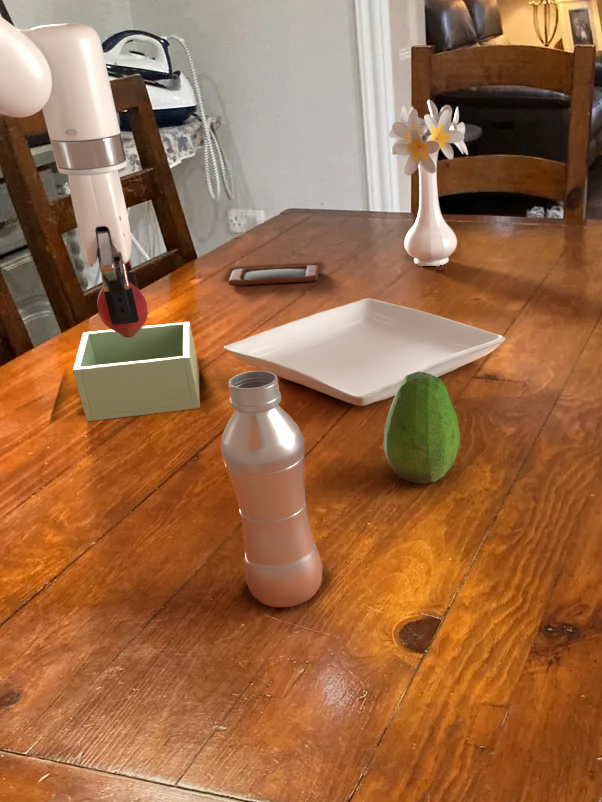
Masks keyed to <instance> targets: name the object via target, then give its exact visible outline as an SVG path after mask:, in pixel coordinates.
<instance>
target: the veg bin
mask: <svg viewBox="0 0 602 802" xmlns="http://www.w3.org/2000/svg"><path fill="white" fill-rule="evenodd" d="M72 373H73V377H74V380H75V384H76V387H77V391H78V395H79V398H80V402H81V406H82V409H83V412H84V413H83V414H84V417H85V420H86V422H96V421H103V420H112V419H120V418H128V417H129V418H130V417H137V416H138V417H139V416H145V415H146V416H147V415H155V414H165V413H171V412H180V411H188V410H197V409H200V407H201V403H200V401H201V399H200V397H201V396H200V394H201V393H200V367H199V362H198V357H197V351H196V348H195V342H194V337H193V332H192V326H191V322H190V321H183V322H181V321H180V322H173V323H164V324H154V325H143V327H142V328H141V329H140V330H139V331H138V332H137V333H136V334H135V336H133V337H132V338H125V337H123V336H122V335H121V334H119V333H118V332H116V331H114V330H112V329H106V330H95V331H85V332H82V335H81V339H80V341H79V345H78V351H77V354H76V357H75V361H74V364H73V368H72Z"/></svg>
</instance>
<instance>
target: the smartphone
mask: <svg viewBox="0 0 602 802" xmlns="http://www.w3.org/2000/svg"><path fill="white" fill-rule="evenodd" d="M319 271H320V266H319V265H317V264H315V265H313V264H312V265H310V264H309V265H293V266H292V265H291V266H290V265H289V266H273V267H272V266H271V267H252V268H251V267H250V268H237V269H233V270H232V272H231V275H230V277H229V279H228V285H229V286H249V285H269V284H289V283H290V284H291V283H307V282H317V281H318V278H319Z"/></svg>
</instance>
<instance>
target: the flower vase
mask: <svg viewBox="0 0 602 802" xmlns="http://www.w3.org/2000/svg"><path fill="white" fill-rule="evenodd" d="M427 106H428V111H429V114H425V115H424V116H423V118H422V117H419V115H418V111H417V109H416V108H414V106H413V105H412V106H411V107H410V108H409V111H407V108H406V106H405V105H402V106H401V108H400V111H399V121H395V122H393V123H392V125H391V130H390V131H389V134H388V136H389V138H391V139H395V138H396V139H395V140H394V142H393V144H392V147H391V154H392V155H399V156H403V157H407V158H406V160H405V163H404V167H403V172H404V174H405V175H406V176H412V175H413V174H414V173H415V172H416V171H417V169H418V176H419V178H418V179H419V180H418V181H419V202H418V203H419V206H418V211H417V217H416V219H415V222H414V223H413V224H412V226H411V227H410V229H408V231H407V233H406V235H405V237H404V242H403V246H404V249H405V251H406V253H407V254H408V255H409V256H411V257H412V258H413V262H414V265H416V264H417V265H416V266H418V267H423V266H436V267H441V266H440V265H442V266H444V264H445V265H447V264H448V263H449V261H450V258H449V257H450V256H451V255H453V253H454V252H456V248H457V246H458V239H457V236H456V234H455V232H454V230H453V229H452V227H450V225H448V223H447V222H446V221H445V219H444V217H443V215H442V212H441V207H440V202H439V191H438V176H437V169H438V158H439V152H440V150H441V152H442V153H443V155H444V156H445V157H446V158H447V159H448V160H453V159H454V155H455V154H454V150H453V147H452V146H451V145H452V144H454V145H455V146H456V147H457V148H458V149H459V151H460V152H461V154H462V155H464V154H465V155H467V156H468V155H469V151H468V148H467V145H466V143H465V141H464V140H465V133H466V124H465V123H464V122H463V121H461V122H459V120H460V111H459V106H456V108H455V112H454V117H453V120H452V116H453V115H452V114H453V109H452V107H451V105H449V104H445V105H444V106H442V107H441V109H440V111H438V110H439V109H438V108H437V105H436V104H435V103H434V102H433V100H431V99H428V100H427ZM446 263H447V264H446Z"/></svg>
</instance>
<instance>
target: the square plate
mask: <svg viewBox="0 0 602 802" xmlns="http://www.w3.org/2000/svg"><path fill="white" fill-rule="evenodd" d="M505 341H506V337H505V336H503V335H501V334H497V333H494V332H491V331H488V330H485V329H481V328H478V327H475V326H472V325H469V324H465V323H462V322H459V321H457V320H456V321H455V320H453V319H450V318H446V317H444V316H440V315H437V314H432V313H429V312H427V311H426V312H425V311H422V310H419V309H415V308H411V307H408V306H403V305H399V304H395V303H391V302H387V301H382V300H378V299H374V298H369V297H368V298H363V299H359V300H357V301H353V302H350V303H347V304H343V305H340V306H336V307H333V308H329V309H326V310H323V311H320V312H317V313H314V314H310V315H307V316H304V317H302V318H299V319H296V320H293V321H290V322H287V323H284V324H282V325H279V326H276V327H273V328H270V329H268V330H265V331H263V332H262V331H261V332H260V333H257V334H254V335H252V336H249V337H246V338H243V339H240V340H238V341H235V342H232V343H229V344H227V345H224V346H223V350H224V351H226V352H227V353H229V354H230V355H232V356H233V357H234V358H235V359H237V360H238V361H240V362H243V363H244V364H246V365H249V366H250V367H253V368H256V369H259V370H261V371H268V372H272V373H274V374H275V375H276V376H277V377H279V378H281V379H284V380H288V381H290V382H292V383H295V384H298V385H301V386H302V387H303V386H304V387H306V388H309V389H311V390H314V391H317V392H319V393H322V394H324V395H328V396H330V397H332V398H335V399H338V400H340V401H343V402H345V403H349V404H352V405H355V406H358V407H359V406H361V407H365V406H369V405H370V404H373V403H377V402H381V401H384V400H387V399H390V398H392V397H395V395H396V393H397V390H398V388H399V386H400V384H401V382H402V381H403V380H404V378H405V377H406V376H407V375H410V374H412V373H415V372H419V371H422V372H426V373H429V374H431V375H434V376H436V377H438V378H440V377H441V376H443V375H446V374H448V373H450V372H453V371H455V370H457V369H459V368H461V367H463V366H466V365H468V364H470V363H472V362H474V361H477V360H479V359H481V358H483V357H486V356H488V355H489V354H491V353H492V352H493V351H495V350H496V349H498V348H499V346H501V344H502V343H504V342H505Z"/></svg>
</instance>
